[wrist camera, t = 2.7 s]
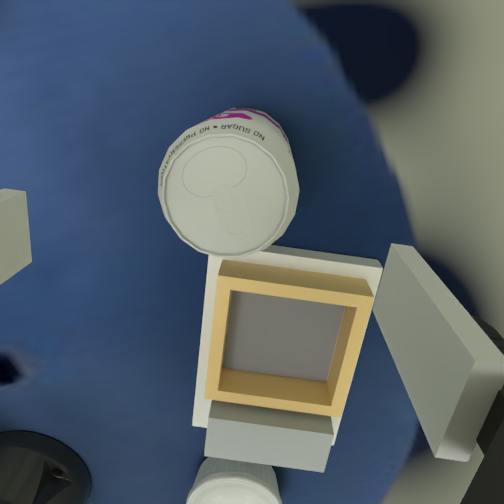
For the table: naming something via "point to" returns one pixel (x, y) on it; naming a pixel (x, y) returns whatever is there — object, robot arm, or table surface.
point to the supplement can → (230, 183)
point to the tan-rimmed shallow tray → (280, 353)
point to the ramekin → (234, 483)
